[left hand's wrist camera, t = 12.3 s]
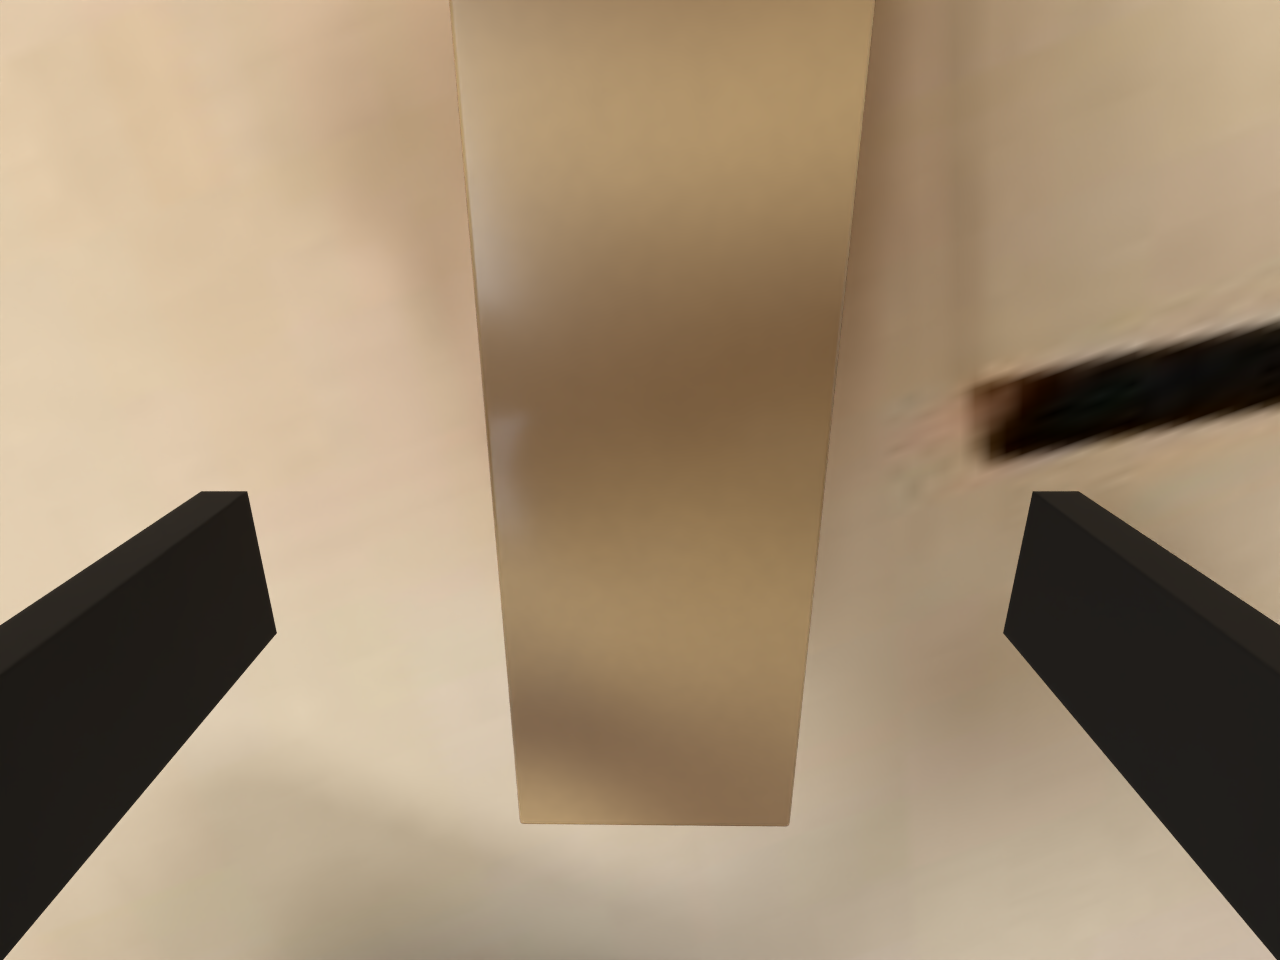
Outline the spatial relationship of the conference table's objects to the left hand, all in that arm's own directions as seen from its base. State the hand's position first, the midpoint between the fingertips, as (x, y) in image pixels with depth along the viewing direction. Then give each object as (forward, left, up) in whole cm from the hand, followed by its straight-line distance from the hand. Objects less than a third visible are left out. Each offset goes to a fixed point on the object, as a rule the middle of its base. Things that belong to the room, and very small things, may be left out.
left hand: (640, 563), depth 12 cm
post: (+18, +7, -9) cm, 21 cm away
